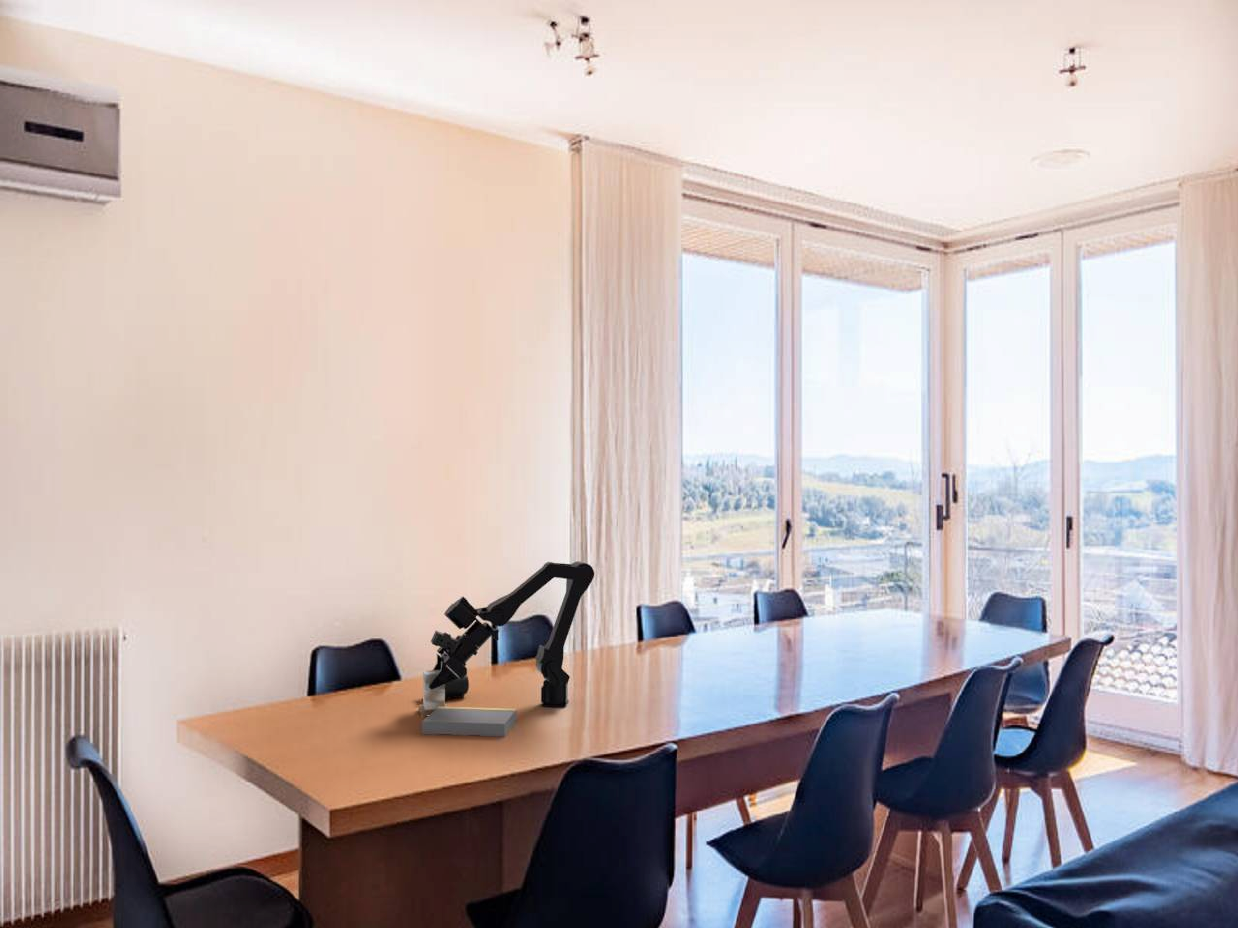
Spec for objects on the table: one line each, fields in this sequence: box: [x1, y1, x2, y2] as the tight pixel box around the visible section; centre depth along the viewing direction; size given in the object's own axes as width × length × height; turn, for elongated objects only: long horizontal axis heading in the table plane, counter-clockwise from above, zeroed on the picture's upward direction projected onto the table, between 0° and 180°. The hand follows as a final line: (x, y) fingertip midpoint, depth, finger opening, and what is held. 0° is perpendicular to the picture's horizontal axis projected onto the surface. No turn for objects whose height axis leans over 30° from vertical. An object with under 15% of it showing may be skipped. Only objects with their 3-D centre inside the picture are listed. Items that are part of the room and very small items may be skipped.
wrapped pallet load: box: [418, 669, 449, 716], centre depth 242 cm, size 7×7×10 cm
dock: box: [421, 706, 517, 738], centre depth 228 cm, size 20×14×3 cm
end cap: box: [445, 675, 470, 700], centre depth 259 cm, size 10×7×7 cm
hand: (428, 685), depth 242 cm, fingers open, 6 cm apart
